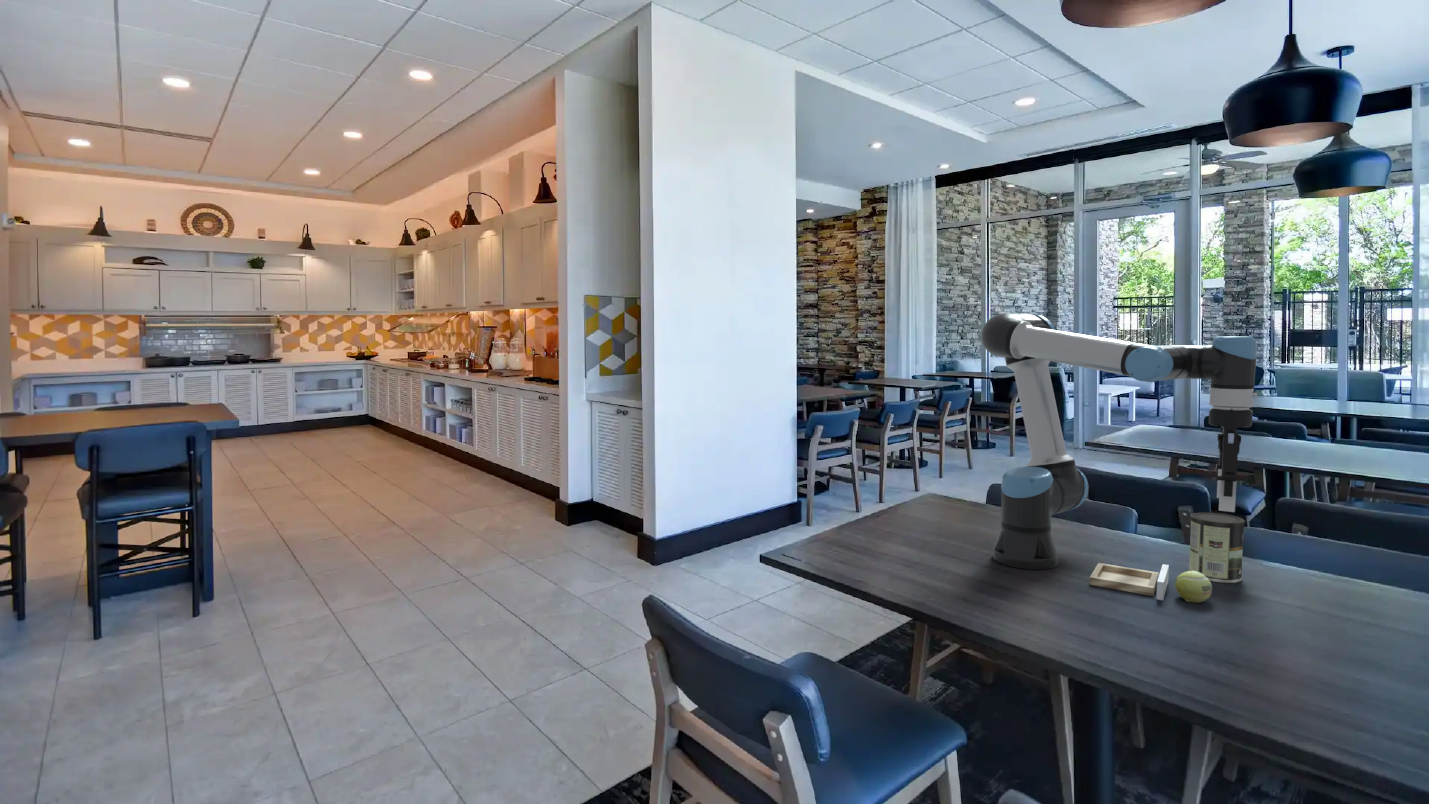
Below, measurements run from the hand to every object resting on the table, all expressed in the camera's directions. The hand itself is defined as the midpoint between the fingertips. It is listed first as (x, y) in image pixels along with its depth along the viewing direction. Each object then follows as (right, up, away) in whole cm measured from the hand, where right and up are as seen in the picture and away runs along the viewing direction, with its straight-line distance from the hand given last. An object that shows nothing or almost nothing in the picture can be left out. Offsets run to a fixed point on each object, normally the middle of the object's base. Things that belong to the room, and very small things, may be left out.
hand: (1225, 504), depth 149 cm
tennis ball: (-8, -21, -2) cm, 22 cm away
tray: (-17, -19, +9) cm, 27 cm away
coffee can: (+7, -19, +13) cm, 24 cm away
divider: (-11, -20, +4) cm, 23 cm away
